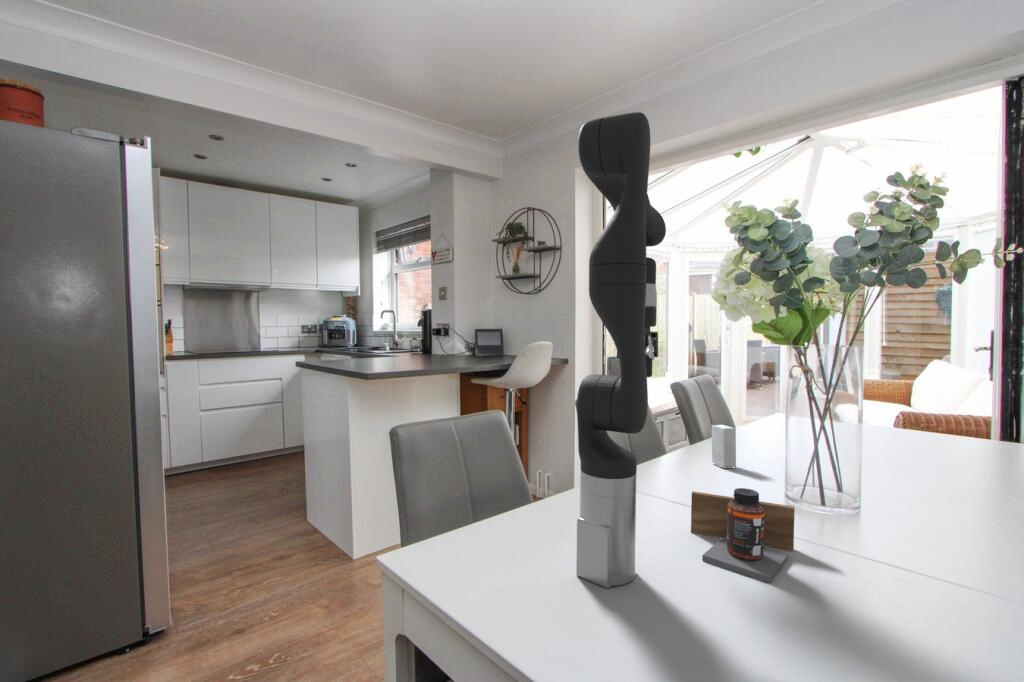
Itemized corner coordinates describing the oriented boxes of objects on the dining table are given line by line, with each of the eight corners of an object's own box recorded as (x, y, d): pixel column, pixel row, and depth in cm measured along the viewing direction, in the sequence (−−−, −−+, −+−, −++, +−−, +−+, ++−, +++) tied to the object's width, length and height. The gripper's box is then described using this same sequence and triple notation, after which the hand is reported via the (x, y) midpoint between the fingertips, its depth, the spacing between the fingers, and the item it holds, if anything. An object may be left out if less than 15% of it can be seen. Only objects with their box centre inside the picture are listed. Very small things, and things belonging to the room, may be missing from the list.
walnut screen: (793, 551, 90) (794, 508, 90) (690, 532, 98) (691, 493, 98) (792, 548, 91) (794, 506, 91) (691, 530, 99) (692, 491, 99)
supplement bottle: (768, 563, 83) (769, 498, 83) (731, 560, 84) (732, 495, 84) (758, 548, 89) (759, 487, 88) (723, 545, 90) (724, 484, 90)
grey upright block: (736, 468, 143) (737, 428, 142) (723, 469, 142) (724, 428, 141) (723, 463, 149) (724, 424, 148) (710, 464, 148) (711, 424, 147)
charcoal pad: (770, 583, 79) (770, 577, 78) (702, 560, 86) (702, 554, 86) (788, 559, 87) (788, 554, 87) (724, 540, 94) (725, 535, 94)
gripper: (638, 303, 100) (637, 381, 100) (669, 306, 110) (668, 377, 111) (607, 304, 105) (606, 379, 105) (639, 306, 115) (638, 374, 116)
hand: (637, 378), depth 108 cm, fingers open, 8 cm apart
